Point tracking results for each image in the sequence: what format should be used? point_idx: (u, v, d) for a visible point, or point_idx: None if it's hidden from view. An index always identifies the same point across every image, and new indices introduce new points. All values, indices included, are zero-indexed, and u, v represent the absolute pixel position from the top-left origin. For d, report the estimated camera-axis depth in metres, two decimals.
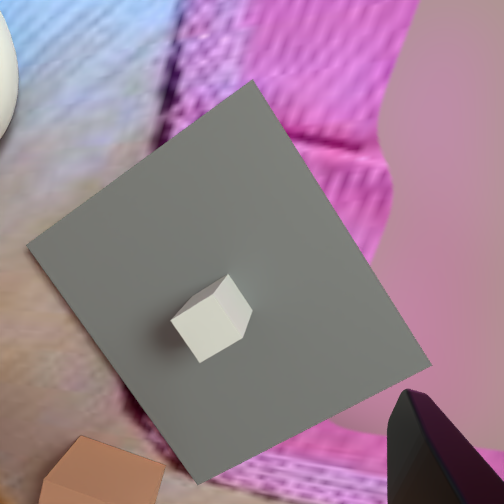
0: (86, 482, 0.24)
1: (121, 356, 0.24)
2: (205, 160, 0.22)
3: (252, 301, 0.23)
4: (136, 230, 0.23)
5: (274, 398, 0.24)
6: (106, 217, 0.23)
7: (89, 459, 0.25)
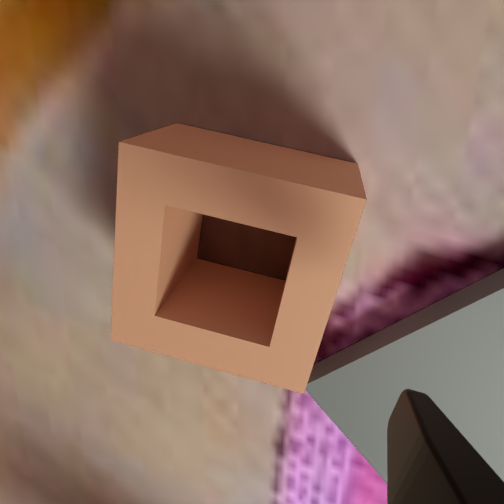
0: None
1: None
2: None
3: None
4: None
5: None
6: None
7: None
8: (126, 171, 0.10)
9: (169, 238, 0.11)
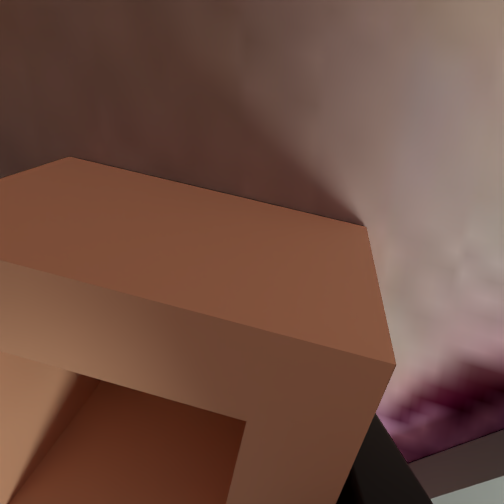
0: None
1: None
2: None
3: None
4: None
5: None
6: None
7: None
8: None
9: (18, 383, 0.06)
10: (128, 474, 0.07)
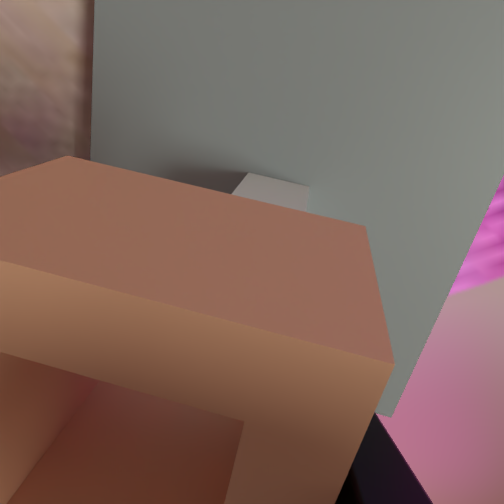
0: None
1: (109, 159, 0.17)
2: (423, 38, 0.14)
3: None
4: (259, 36, 0.14)
5: None
6: None
7: None
8: None
9: (15, 383, 0.06)
10: (126, 474, 0.07)
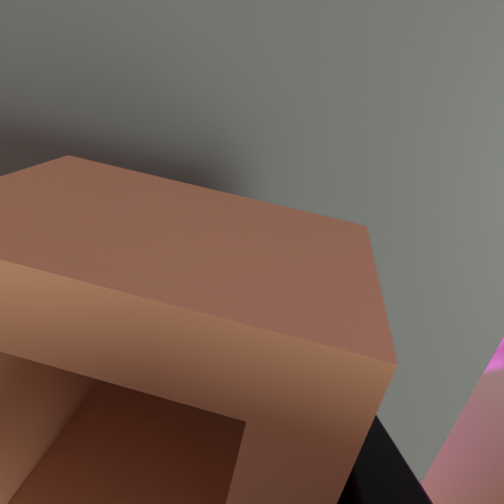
0: None
1: None
2: (448, 9, 0.09)
3: None
4: (195, 11, 0.09)
5: None
6: None
7: None
8: None
9: (16, 383, 0.06)
10: (127, 475, 0.07)
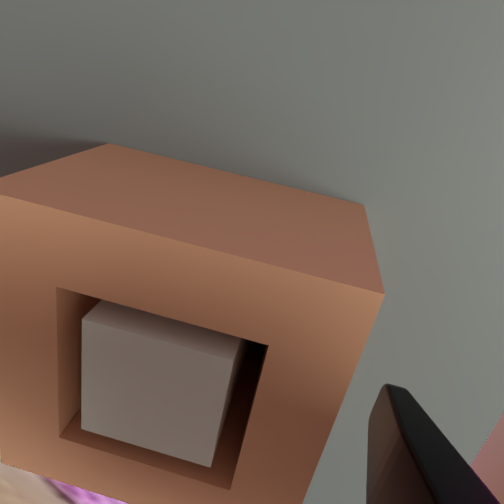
0: None
1: None
2: None
3: None
4: (168, 1, 0.08)
5: None
6: None
7: None
8: None
9: (77, 326, 0.07)
10: None
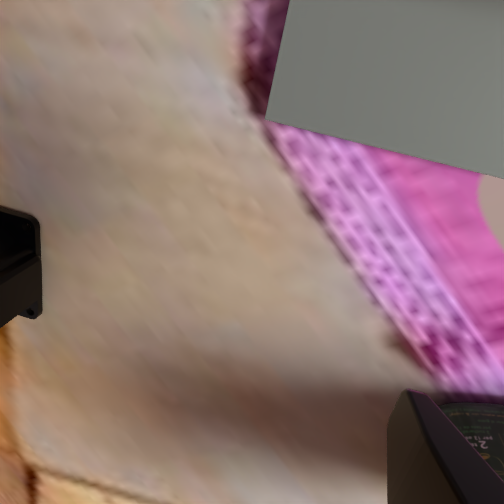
0: None
1: None
2: None
3: None
4: None
5: (478, 94, 0.15)
6: None
7: None
8: None
9: None
10: None
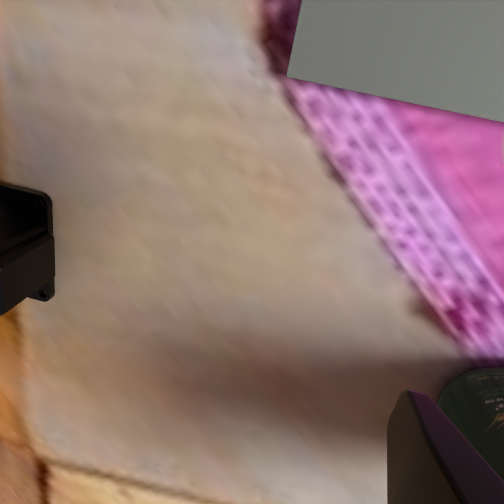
0: None
1: None
2: None
3: None
4: None
5: None
6: None
7: None
8: None
9: None
10: None
